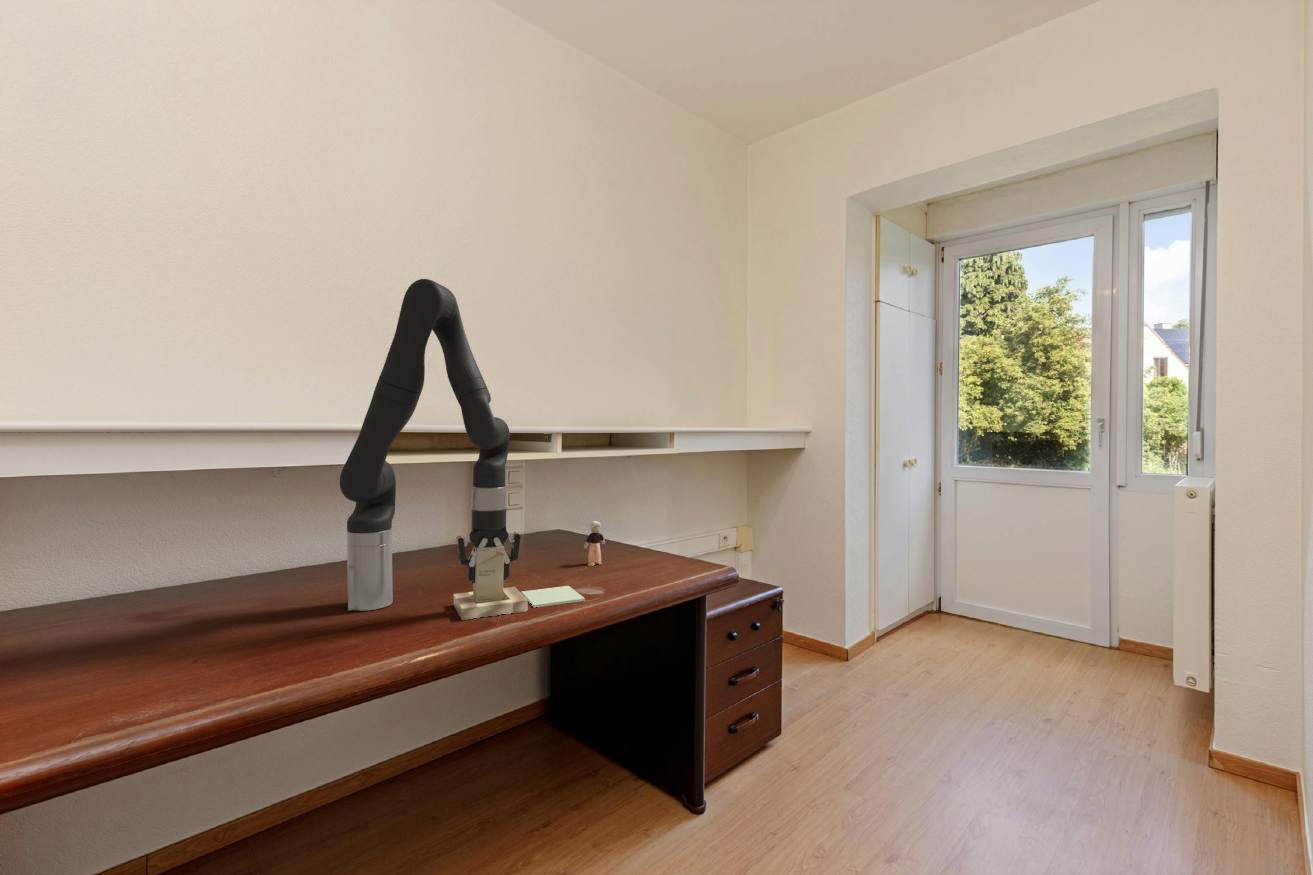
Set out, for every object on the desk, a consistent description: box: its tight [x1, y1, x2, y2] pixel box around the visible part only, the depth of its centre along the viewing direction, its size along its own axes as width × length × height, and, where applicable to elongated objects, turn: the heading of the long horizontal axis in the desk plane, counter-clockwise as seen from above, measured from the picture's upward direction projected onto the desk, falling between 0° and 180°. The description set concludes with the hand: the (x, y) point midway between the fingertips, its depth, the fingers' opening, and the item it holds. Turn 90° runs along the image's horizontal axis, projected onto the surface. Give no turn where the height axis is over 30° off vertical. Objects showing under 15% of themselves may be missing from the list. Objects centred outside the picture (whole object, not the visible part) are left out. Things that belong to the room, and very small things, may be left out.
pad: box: [520, 585, 586, 609], centre depth 148 cm, size 12×12×1 cm
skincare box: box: [472, 545, 505, 603], centre depth 139 cm, size 6×4×12 cm
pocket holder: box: [453, 586, 529, 621], centre depth 140 cm, size 14×12×2 cm
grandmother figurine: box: [583, 520, 606, 567], centre depth 181 cm, size 8×4×13 cm, turn 148°
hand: (488, 580), depth 139 cm, fingers closed on skincare box, 6 cm apart
